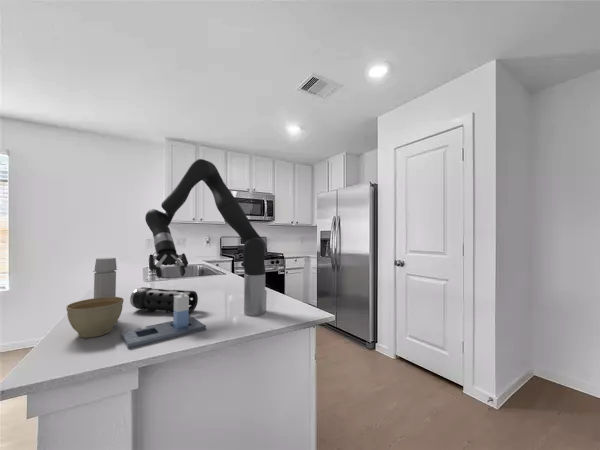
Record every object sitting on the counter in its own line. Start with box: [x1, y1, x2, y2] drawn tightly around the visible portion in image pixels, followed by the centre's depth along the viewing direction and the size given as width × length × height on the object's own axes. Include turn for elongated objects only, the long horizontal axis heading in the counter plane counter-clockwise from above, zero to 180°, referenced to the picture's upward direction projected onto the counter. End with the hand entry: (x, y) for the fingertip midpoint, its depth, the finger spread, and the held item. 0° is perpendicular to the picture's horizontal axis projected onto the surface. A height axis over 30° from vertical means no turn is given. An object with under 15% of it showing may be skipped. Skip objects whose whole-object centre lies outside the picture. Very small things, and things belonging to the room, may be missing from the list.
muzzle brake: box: [129, 287, 199, 314], centre depth 120 cm, size 10×28×10 cm, turn 78°
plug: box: [172, 293, 190, 329], centre depth 98 cm, size 4×4×13 cm
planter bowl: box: [65, 296, 125, 339], centre depth 95 cm, size 16×16×11 cm
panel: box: [120, 316, 207, 350], centre depth 94 cm, size 24×13×2 cm, turn 132°
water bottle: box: [92, 257, 118, 298], centre depth 108 cm, size 9×8×25 cm
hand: (171, 275), depth 107 cm, fingers open, 8 cm apart
